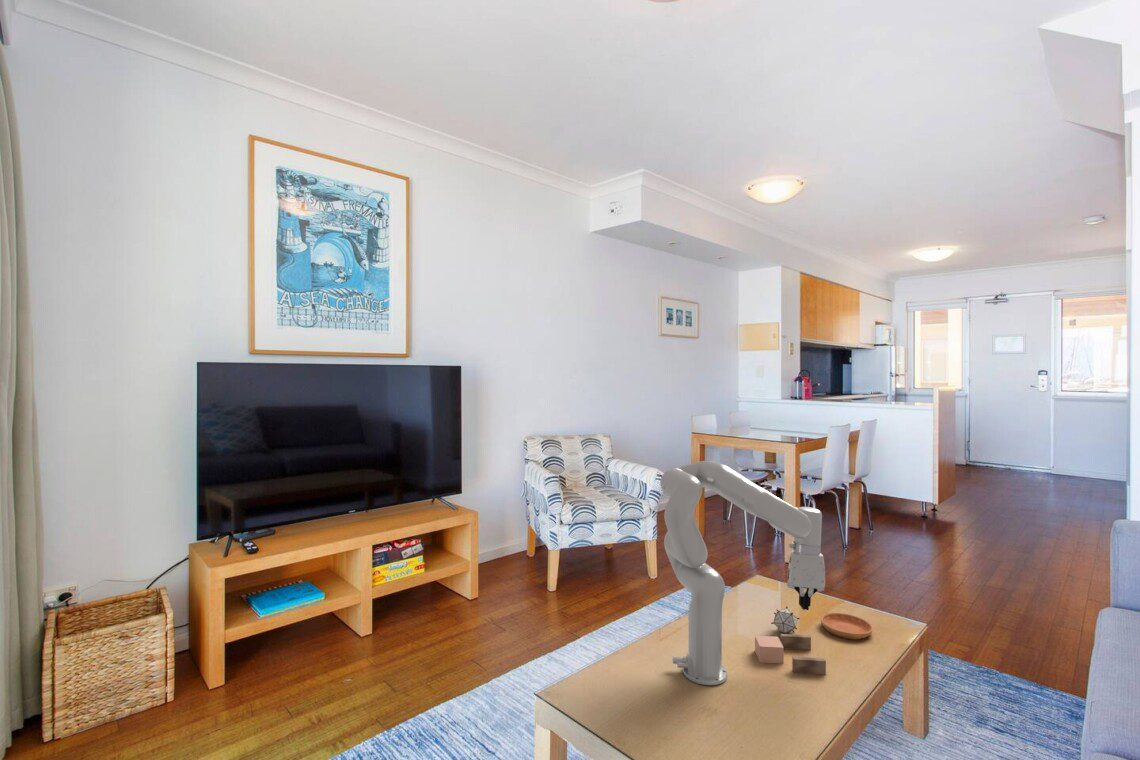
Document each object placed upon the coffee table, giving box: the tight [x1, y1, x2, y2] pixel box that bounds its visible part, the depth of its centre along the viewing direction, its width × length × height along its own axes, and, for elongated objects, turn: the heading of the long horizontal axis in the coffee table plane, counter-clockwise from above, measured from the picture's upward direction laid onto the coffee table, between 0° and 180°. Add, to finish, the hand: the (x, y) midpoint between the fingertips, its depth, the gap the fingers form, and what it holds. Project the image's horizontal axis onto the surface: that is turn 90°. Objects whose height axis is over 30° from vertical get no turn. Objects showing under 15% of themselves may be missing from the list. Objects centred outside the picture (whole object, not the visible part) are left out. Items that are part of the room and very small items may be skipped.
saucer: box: [820, 612, 874, 640], centre depth 191 cm, size 16×16×3 cm
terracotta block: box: [754, 635, 785, 664], centre depth 174 cm, size 7×7×5 cm
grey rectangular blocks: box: [779, 633, 827, 676], centre depth 172 cm, size 9×16×4 cm, turn 173°
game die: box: [770, 606, 800, 634], centre depth 190 cm, size 9×8×10 cm
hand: (804, 608), depth 171 cm, fingers closed
